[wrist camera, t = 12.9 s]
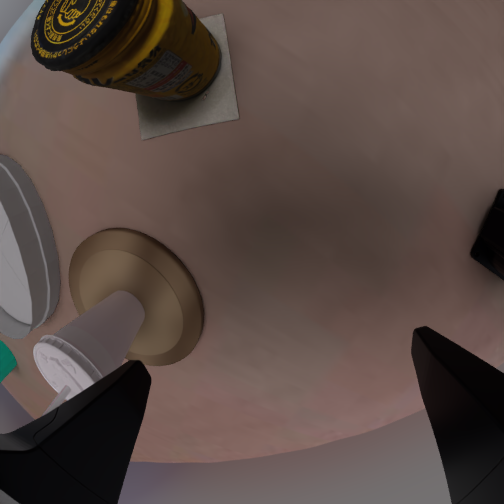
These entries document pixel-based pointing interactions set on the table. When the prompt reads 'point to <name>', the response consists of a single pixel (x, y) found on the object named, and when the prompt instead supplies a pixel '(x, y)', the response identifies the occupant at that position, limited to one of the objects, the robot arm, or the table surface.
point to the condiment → (143, 57)
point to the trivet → (141, 291)
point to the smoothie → (89, 346)
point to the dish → (25, 255)
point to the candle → (6, 361)
